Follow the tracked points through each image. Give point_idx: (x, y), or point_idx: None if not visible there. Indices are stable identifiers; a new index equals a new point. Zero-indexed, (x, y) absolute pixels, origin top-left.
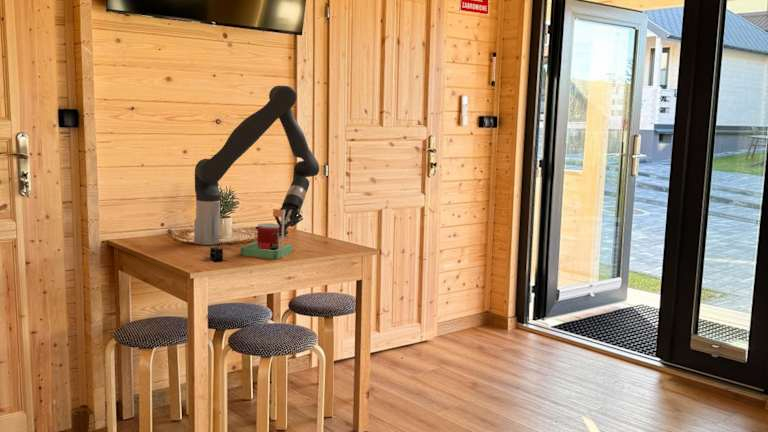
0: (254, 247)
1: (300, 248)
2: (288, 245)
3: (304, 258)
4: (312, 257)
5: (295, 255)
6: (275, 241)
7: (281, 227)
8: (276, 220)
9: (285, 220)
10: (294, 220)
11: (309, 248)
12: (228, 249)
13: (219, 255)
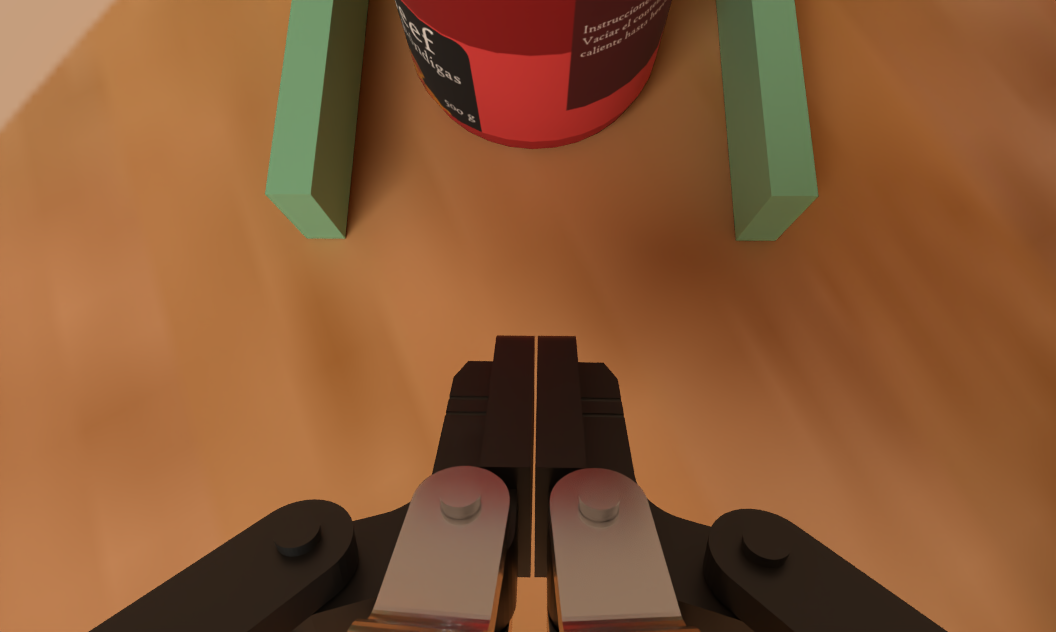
0: (736, 62)
1: None
2: (295, 125)
3: (90, 40)
4: (14, 120)
5: (219, 120)
6: None
7: (541, 393)
8: (830, 555)
9: (491, 590)
10: (116, 619)
11: None
12: (1014, 36)
13: None
